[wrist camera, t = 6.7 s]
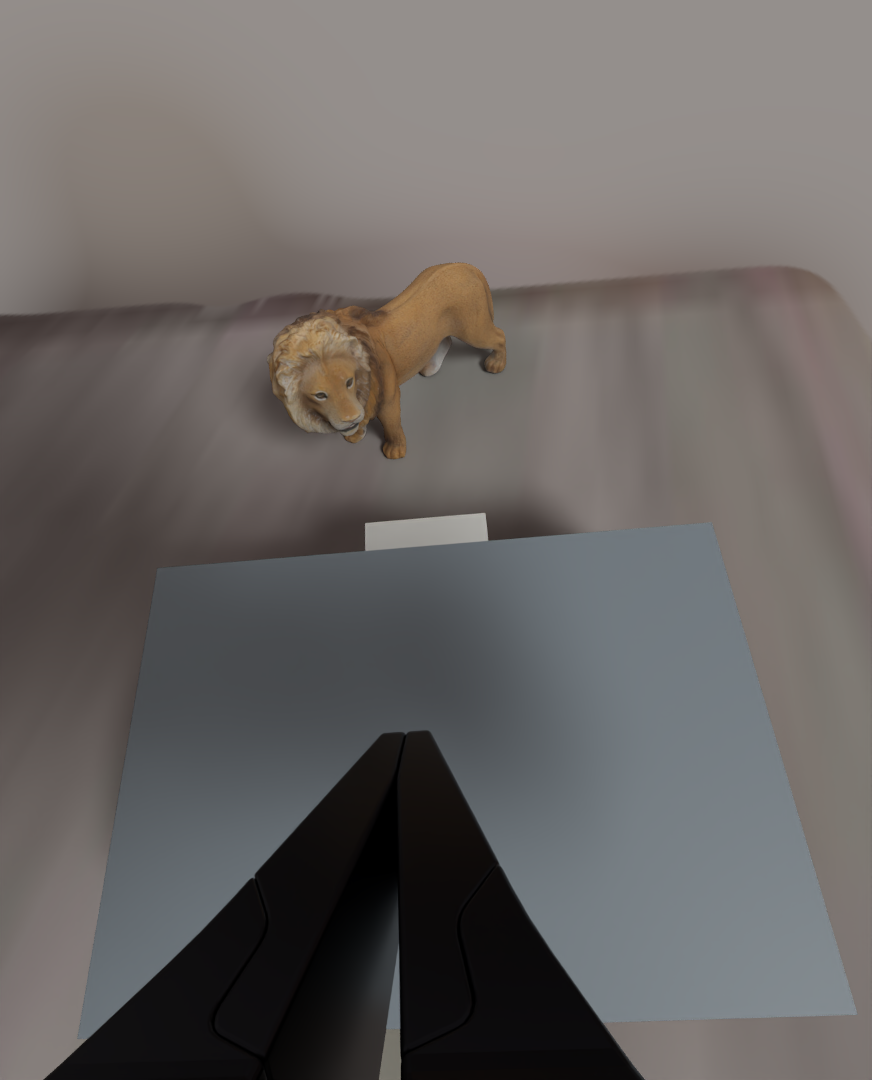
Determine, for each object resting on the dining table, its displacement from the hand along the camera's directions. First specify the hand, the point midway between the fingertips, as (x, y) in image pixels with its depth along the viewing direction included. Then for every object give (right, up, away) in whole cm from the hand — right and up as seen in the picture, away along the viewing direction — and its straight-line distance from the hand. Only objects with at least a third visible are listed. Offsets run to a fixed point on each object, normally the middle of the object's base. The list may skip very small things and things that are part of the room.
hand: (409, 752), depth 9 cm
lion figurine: (-1, +10, +19) cm, 22 cm away
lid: (+1, -2, +7) cm, 7 cm away
